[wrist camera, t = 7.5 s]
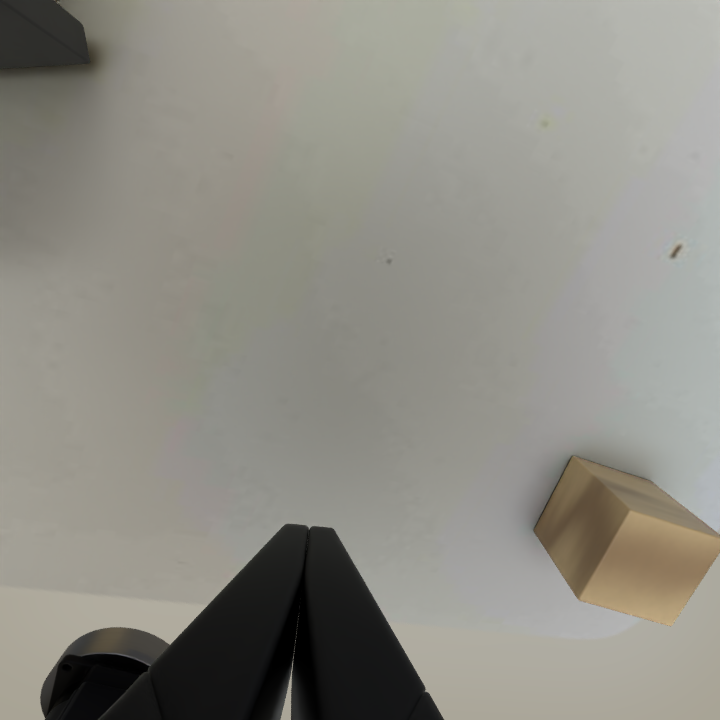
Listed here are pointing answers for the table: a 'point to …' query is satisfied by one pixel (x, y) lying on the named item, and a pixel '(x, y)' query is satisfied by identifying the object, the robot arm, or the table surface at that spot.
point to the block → (625, 542)
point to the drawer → (39, 35)
